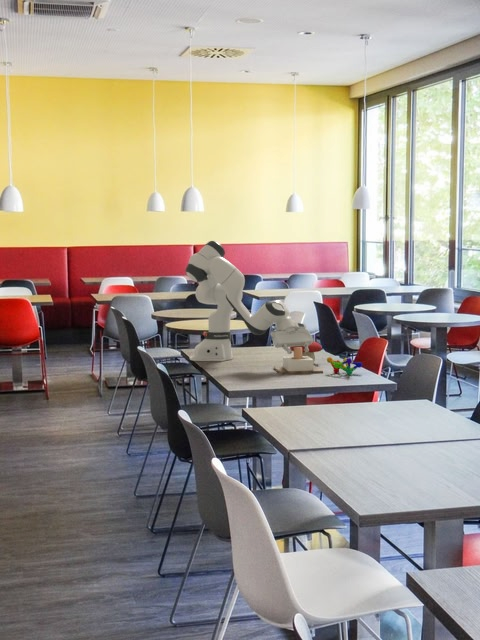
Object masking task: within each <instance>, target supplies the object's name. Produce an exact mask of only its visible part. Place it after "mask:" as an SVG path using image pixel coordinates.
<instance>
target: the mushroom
mask: <svg viewBox="0 0 480 640" xmlns="http://www.w3.org/2000/svg"><path fill="white" fill-rule="evenodd" d="M294 347H302V356H308V357H310V358H312V359H313V360H314V362H315V360H316V357H315V353H318V352H321V351H322V349H323V347H322V345H321V344H320V343H319V342H317V341H314V340H313V342H312V343H311V345H308V349H309V351H308V352H305V351H304V349H305V347H304V346H294ZM294 347H289V349H291V351H292V352H294Z"/></svg>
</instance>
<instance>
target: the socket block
mask: <svg viewBox="0 0 480 640" xmlns="http://www.w3.org/2000/svg"><path fill="white" fill-rule="evenodd" d="M314 363H315V361H314V360H313V359H312V358H310V357H308V356H302V359H294V356H282V367H283V368H285V369H286V370H287V371H311V370H314V366H315V364H314Z"/></svg>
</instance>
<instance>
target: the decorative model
mask: <svg viewBox="0 0 480 640" xmlns="http://www.w3.org/2000/svg"><path fill="white" fill-rule="evenodd" d="M326 362H327V363H330V365H331V366H332V368H333V373H334V374H338V373H339V372H340V369H341V370H343V371H344V372H346V375H348V376H351V375H352V374H353V372H354V371H355V370H356V369H359V368H362V367H363V363H362V362H360V361H358V362H355V361H353V359H352V358H350V357H348V358H347V357H345V358H343V359H342V361H340V360H338V359H337V360H334V359H333V358H332V357H329V356H328V357H327V358H326ZM351 365H354V366H352V367H351Z"/></svg>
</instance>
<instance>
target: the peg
mask: <svg viewBox="0 0 480 640" xmlns="http://www.w3.org/2000/svg"><path fill="white" fill-rule="evenodd" d="M293 357H294V359H302V347H294V351H293Z"/></svg>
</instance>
